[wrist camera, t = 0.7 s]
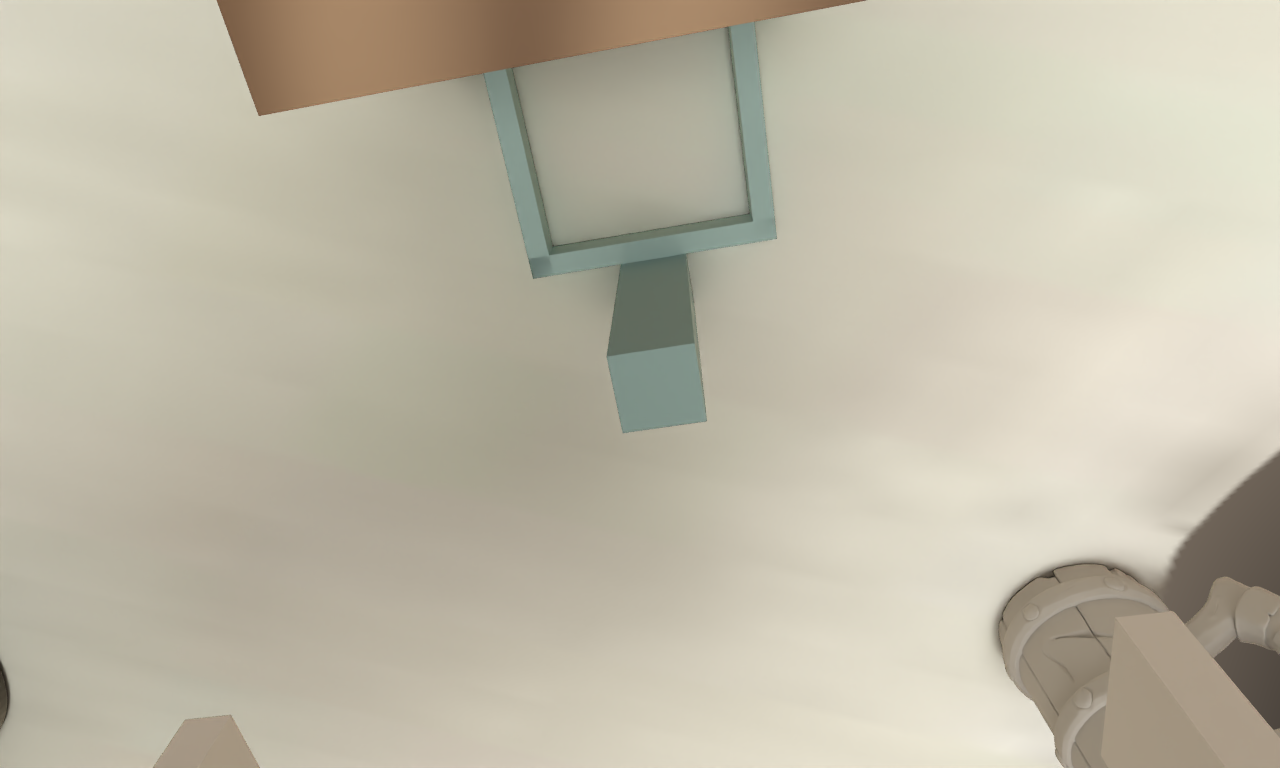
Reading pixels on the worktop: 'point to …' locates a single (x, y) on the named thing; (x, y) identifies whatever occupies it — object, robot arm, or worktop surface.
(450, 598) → the worktop surface
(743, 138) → the grey-green framed piece
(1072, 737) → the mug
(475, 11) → the tunnel
